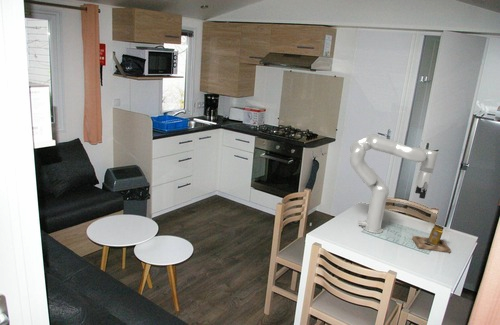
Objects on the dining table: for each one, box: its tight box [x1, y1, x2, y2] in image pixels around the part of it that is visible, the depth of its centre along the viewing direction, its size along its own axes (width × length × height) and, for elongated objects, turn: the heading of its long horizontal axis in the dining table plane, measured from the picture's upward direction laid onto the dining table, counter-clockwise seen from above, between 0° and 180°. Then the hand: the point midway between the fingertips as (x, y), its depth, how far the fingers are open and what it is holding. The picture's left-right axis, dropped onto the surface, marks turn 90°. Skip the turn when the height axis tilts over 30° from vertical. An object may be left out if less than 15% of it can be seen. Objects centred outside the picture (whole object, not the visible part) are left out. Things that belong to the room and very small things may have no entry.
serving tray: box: [411, 235, 451, 254], centre depth 238 cm, size 18×13×2 cm
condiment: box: [423, 223, 445, 247], centre depth 237 cm, size 7×8×12 cm
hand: (419, 195), depth 245 cm, fingers open, 9 cm apart
